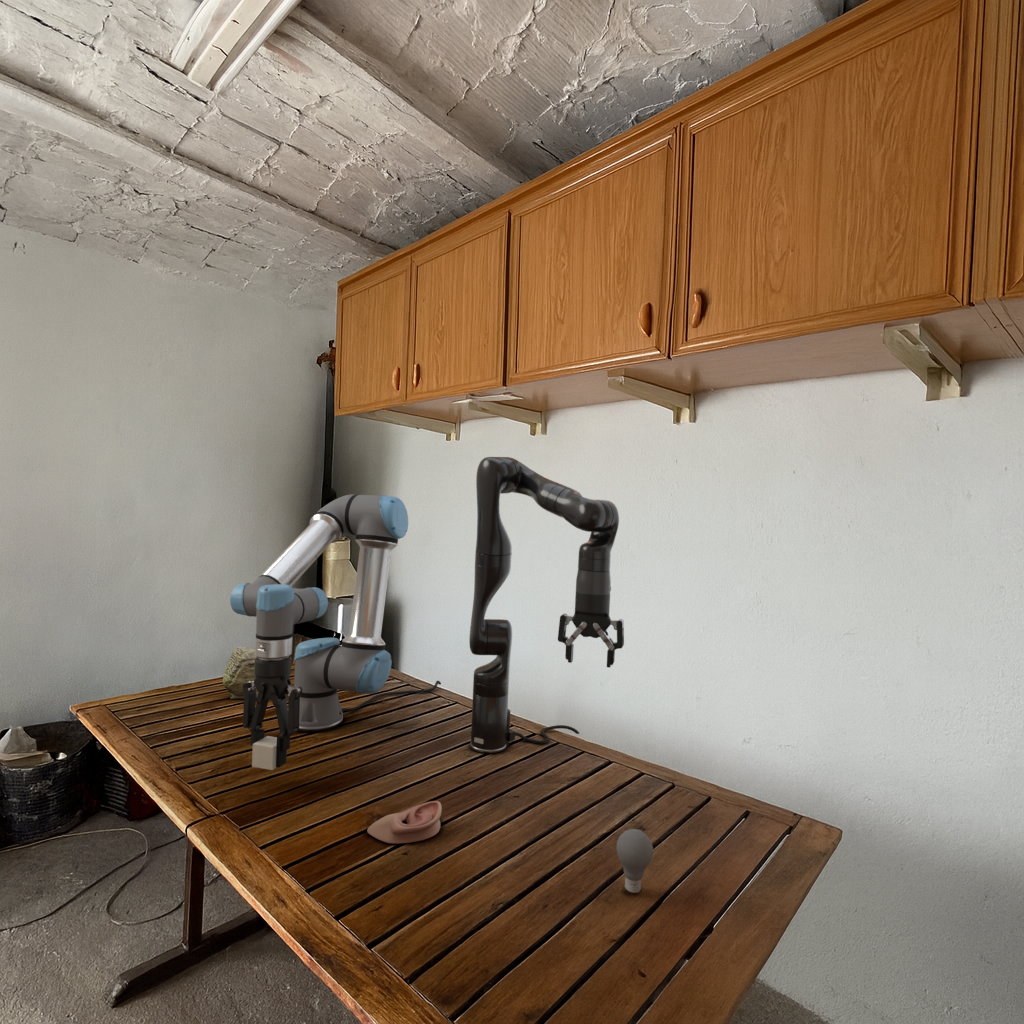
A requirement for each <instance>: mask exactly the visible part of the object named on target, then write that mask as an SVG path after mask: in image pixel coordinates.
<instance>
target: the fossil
mask: <svg viewBox="0 0 1024 1024" xmlns="http://www.w3.org/2000/svg"><path fill="white" fill-rule="evenodd" d="M256 658H257V656H256V655H255V648H251V647H247V646H246V647H245V646H238V647H237V648H236V649H235V650H233V651H232V653H231V656H230V657H229V659H228V660H227V663H226V666H225V668H224V671H223V675H222V676H223V677H222V685H223V687H224V688H225V690H226V691H228V693H229V698H230V699H244V691H243V687H242V685H243V683H246V682H248V681H251V680H253V681H254V679H255V677H256V676H255V674H254V667H255V659H256ZM257 695H258V691H257V689H256V698H257Z"/></svg>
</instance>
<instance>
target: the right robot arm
mask: <svg viewBox="0 0 1024 1024" xmlns="http://www.w3.org/2000/svg"><path fill="white" fill-rule="evenodd" d="M475 477H476V478H475V479H476V480H475V485H476V487H475V488H476V511H477V516H476V517H477V519H476V520H477V521H476V543H475V554H474V589H473V590H474V591H473V601H472V609H471V610H472V611H471V618H470V627H469V641H468V642H469V649H470V652H471V654H472V655H474V656H495V658H494V659H492V660H491V661H490V662H487V663H485V664H483V665H480V666H477V668H475V669H474V671H473V682H472V705H471V707H472V708H471V726H470V727H471V729H470V731H471V732H470V743H469V746H470V748H471V749H472V750H473V751H476V752H479V753H483V754H496V753H501V752H503V751H505V750H506V749H507V747H510V742H513V741H515V740H516V736H517V737H519V738H520V739H522V740H523V741H524V742H525V741H526V742H528V743H531V744H536V745H544V744H548V743H549V742H550V737H549V736H548V735H547V734H546V733H545V732H547V731H551V730H556V729H557V730H558V729H565V730H570V731H572V732H573V733H575V734H576V735H580V732H579V730H577V729H576V728H574V727H572V726H570V725H562V724H560V725H559V724H558V725H551V726H546V727H544V728H542V729H541V730H540V731H539V733H540V734H541V736H542V737H543V738H544V739H543V740H542V739H540V740H537V739H534V738H533V739H532V738H530V737H526V736H525V735H524V734H522V733H520V732H516V731H515V730H513V729H511V710H510V709H509V687H510V669H511V668H510V665H511V654H512V646H513V645H512V644H513V626H512V624H511V622H510V621H509V619H500V618H497V619H496V618H485V616H486V613H487V610H488V608H489V605H490V603H491V601H492V600H493V598H494V597H495V595H496V594H497V593H498V591H499V590H500V589H501V588H502V586H503V585H504V583H505V582H506V580H507V579H508V577H509V575H510V573H511V569H512V556H513V555H512V554H513V547H512V541H511V539H510V535H509V534H508V530H507V529H506V527H505V525H504V523H503V521H502V517H501V511H500V505H501V503H500V502H501V501H500V500H501V494H510V493H515V494H519V495H525V496H528V497H530V498H531V499H532V500H534V502H535V503H536V504H537V506H539V507H540V508H541V509H543V510H544V511H546V512H549V513H550V514H552V515H555V516H557V517H560V518H562V519H564V520H565V521H566V522H568V523H569V524H570V525H571V526H573V527H574V528H576V529H578V530H580V531H584V532H587V533H590V534H589V538H588V540H587V541H585V542H584V543H582V544H581V545H580V546H579V547H578V555H577V557H578V558H577V561H578V562H577V574H576V580H575V597H574V598H575V599H574V604H575V605H574V614H573V615H568V614H567V613H563V614H561V615H560V616H559V622H558V632H557V633H558V634H557V641H558V642H559V643H563V644H564V645H565V654H564V655H565V660H567V663H569V664H573V661H574V642H575V641H576V640H577V638H578V637H579V636H582V637H583V638H590V637H591V638H593V639H598V638H600V639H601V640H602V642H603V643H604V644H605V646H606V647H607V648H608V649H607V652H606V668H611V667H612V666H613V665H614V663H615V659H616V657H615V656H616V650H618V649H622V648H623V646H624V645H625V621H624V619H622V618H620V619H611V617H610V607H611V606H610V605H611V591H612V582H611V581H612V580H611V561H612V557H611V556H612V550H613V547H614V545H615V541H616V537H617V533H618V529H619V525H620V513H619V510H618V507H617V506H616V504H615V502H612V501H611V500H608V499H595V498H594V499H593V498H587V497H584V496H583V495H582V494H581V492H580V491H578V490H576V489H574V488H572V487H569V486H567V485H564V484H562V483H559V482H557V481H554V480H552V479H549V478H548V477H544V476H543V475H541V474H539V473H537V472H536V471H534V470H532V469H531V468H529V467H528V466H527V465H526V464H524V463H523V462H521V461H519V460H517V459H515V458H513V457H509V456H487V457H484V458H482V459H481V460H480V462H479V463H478V466H477V469H476V476H475ZM570 622H572V623H573V625H574V627H575V630H574V631H573V632H572V634H570V636H569V637H568V636H567V627H568V626H569V624H570ZM610 626H612V627H613V629H614V630H615V631H616V642H615V641H614V640H613V638H612V637H611V634H610V633H609V631H608V629H609V627H610Z"/></svg>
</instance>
